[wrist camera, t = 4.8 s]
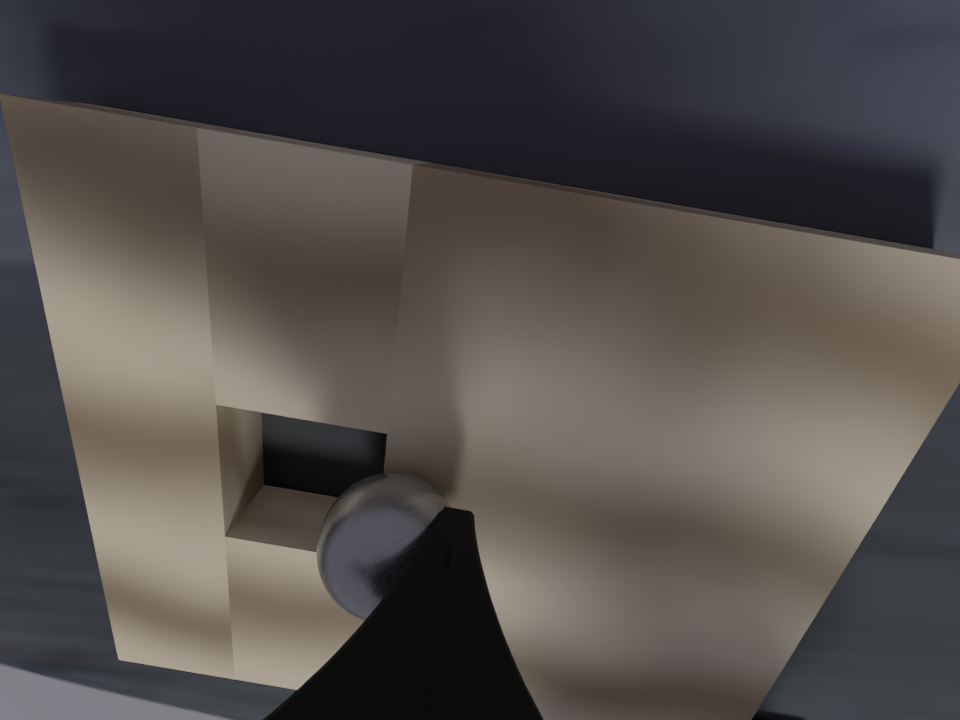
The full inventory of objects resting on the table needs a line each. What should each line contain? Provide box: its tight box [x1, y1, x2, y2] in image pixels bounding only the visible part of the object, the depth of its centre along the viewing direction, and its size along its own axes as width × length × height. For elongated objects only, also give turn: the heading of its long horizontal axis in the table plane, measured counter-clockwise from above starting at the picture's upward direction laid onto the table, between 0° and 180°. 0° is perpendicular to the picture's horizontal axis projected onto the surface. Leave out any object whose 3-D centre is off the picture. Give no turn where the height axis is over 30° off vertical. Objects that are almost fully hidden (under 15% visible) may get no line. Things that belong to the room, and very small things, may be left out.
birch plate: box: [0, 94, 960, 720], centre depth 15 cm, size 18×22×2 cm
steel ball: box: [316, 472, 451, 621], centre depth 12 cm, size 4×4×4 cm
